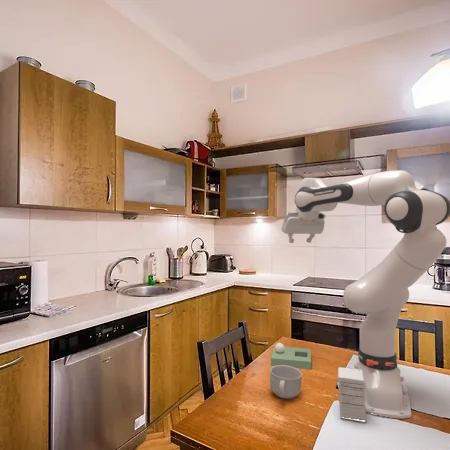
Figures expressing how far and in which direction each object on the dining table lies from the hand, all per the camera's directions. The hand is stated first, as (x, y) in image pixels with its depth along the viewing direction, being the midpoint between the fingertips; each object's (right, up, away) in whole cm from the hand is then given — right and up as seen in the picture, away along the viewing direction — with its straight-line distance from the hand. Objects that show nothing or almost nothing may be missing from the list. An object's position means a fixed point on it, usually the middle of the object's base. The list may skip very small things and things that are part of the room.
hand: (299, 242), depth 145 cm
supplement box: (+5, -50, -48) cm, 69 cm away
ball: (-10, -45, -7) cm, 47 cm away
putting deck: (-5, -50, -8) cm, 51 cm away
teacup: (-14, -50, -37) cm, 64 cm away
